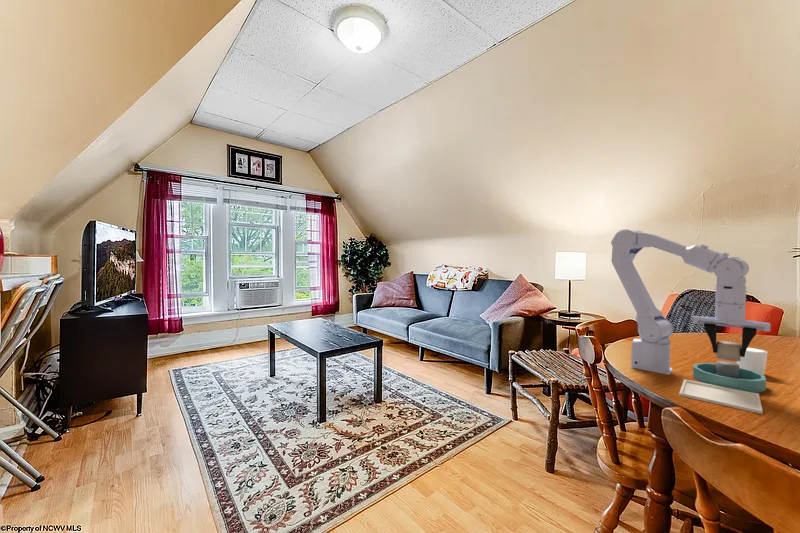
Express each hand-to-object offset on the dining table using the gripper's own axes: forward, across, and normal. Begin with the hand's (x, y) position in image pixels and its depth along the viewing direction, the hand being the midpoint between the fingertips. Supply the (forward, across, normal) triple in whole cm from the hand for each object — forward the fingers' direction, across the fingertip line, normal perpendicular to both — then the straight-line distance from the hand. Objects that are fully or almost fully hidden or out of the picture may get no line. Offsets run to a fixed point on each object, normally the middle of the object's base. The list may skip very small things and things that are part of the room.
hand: (728, 354), depth 89 cm
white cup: (+9, +5, +21) cm, 24 cm away
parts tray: (+9, -1, -11) cm, 14 cm away
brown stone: (+1, 0, 0) cm, 1 cm away
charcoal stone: (+8, 0, +6) cm, 10 cm away
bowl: (+9, 0, +3) cm, 9 cm away
